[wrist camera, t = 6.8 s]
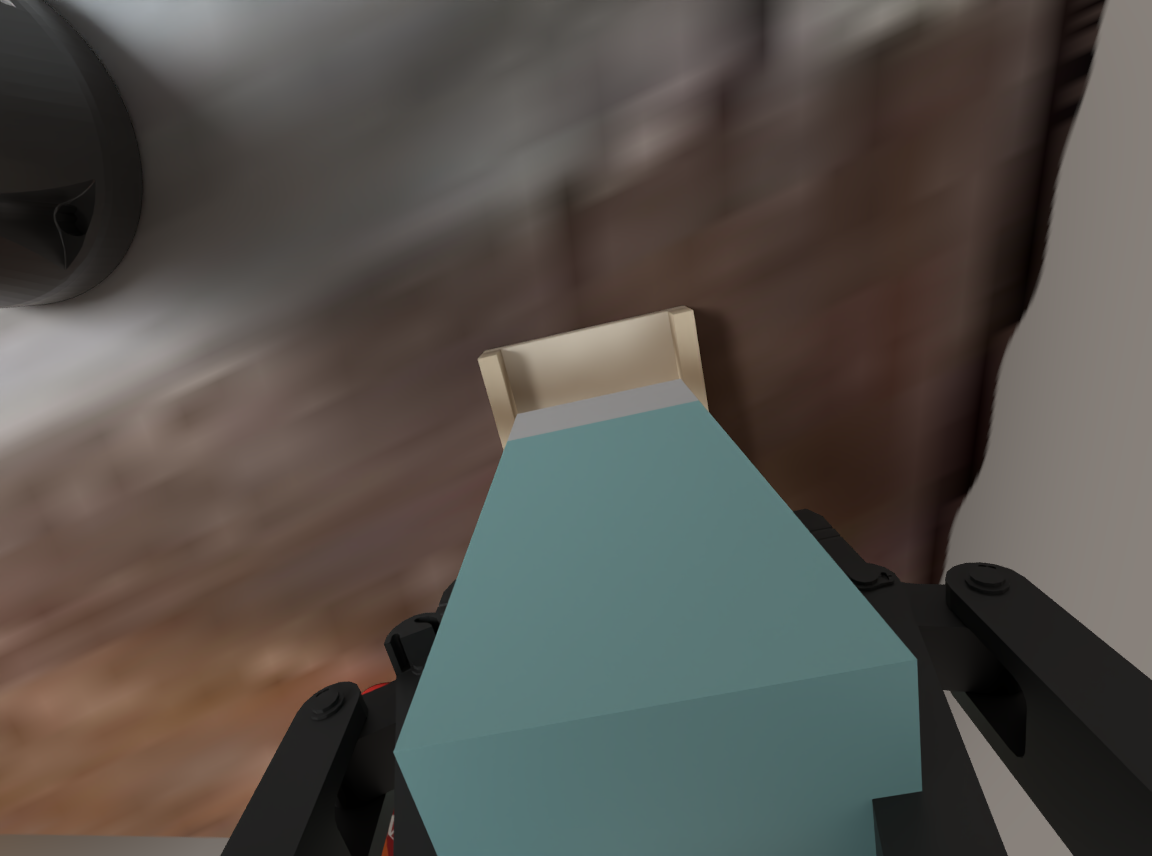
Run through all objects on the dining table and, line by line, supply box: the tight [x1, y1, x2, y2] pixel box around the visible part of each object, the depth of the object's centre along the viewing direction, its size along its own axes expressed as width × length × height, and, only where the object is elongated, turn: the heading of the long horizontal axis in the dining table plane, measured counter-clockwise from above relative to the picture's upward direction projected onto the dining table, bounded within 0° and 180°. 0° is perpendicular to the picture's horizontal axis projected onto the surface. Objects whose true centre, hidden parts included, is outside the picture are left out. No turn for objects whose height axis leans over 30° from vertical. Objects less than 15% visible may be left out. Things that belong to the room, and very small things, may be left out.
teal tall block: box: [393, 379, 922, 856], centre depth 14 cm, size 6×6×14 cm
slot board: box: [478, 306, 709, 450], centre depth 31 cm, size 18×11×2 cm, turn 13°
